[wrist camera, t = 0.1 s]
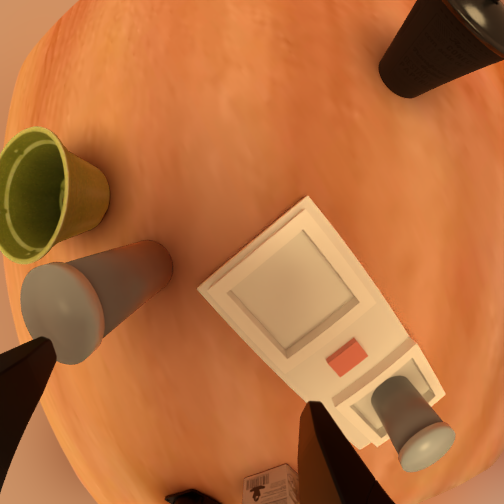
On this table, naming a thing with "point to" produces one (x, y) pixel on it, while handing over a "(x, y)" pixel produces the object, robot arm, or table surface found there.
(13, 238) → the plant pot
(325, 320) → the peg insertion board
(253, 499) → the coffee box
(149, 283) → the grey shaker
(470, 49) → the drinking cup
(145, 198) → the table surface
